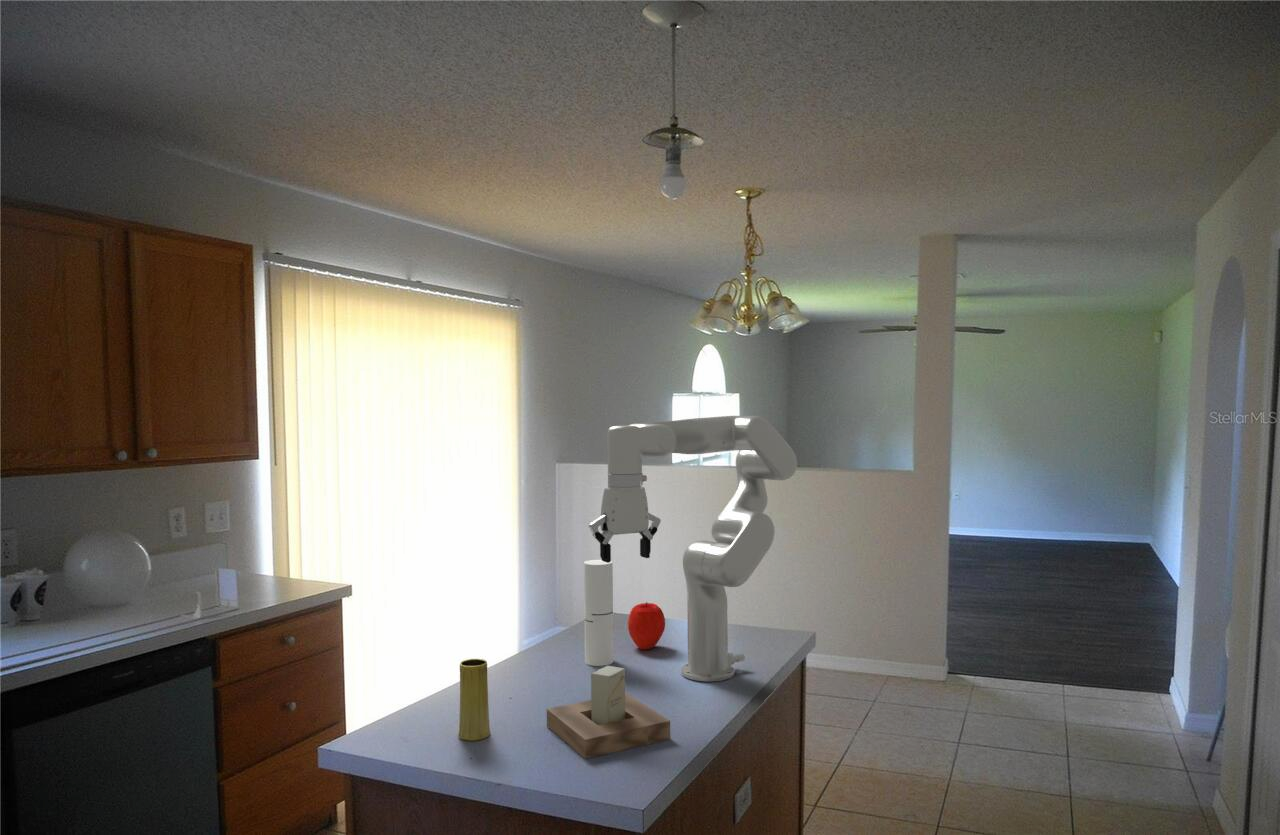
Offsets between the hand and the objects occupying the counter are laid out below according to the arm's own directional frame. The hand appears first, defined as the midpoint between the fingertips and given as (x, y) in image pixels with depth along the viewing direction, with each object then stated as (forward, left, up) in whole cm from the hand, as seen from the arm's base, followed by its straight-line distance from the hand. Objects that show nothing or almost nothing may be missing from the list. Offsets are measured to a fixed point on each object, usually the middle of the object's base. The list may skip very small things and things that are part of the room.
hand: (625, 559), depth 185 cm
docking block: (+13, +16, -30) cm, 37 cm away
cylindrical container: (-6, -26, -31) cm, 41 cm away
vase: (+36, +4, -31) cm, 47 cm away
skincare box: (+13, +16, -31) cm, 37 cm away
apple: (-22, -30, -31) cm, 48 cm away
